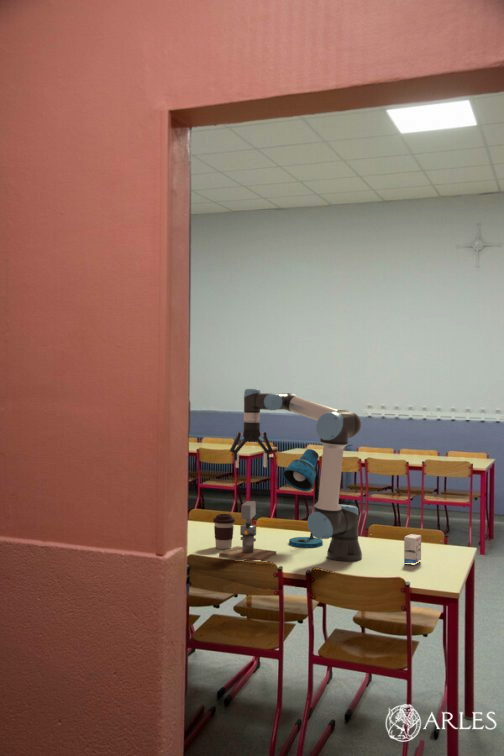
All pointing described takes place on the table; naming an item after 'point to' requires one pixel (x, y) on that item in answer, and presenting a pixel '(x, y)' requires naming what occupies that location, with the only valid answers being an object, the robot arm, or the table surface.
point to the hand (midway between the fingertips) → (251, 467)
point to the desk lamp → (304, 488)
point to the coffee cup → (223, 530)
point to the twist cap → (248, 518)
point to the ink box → (412, 548)
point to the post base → (247, 556)
